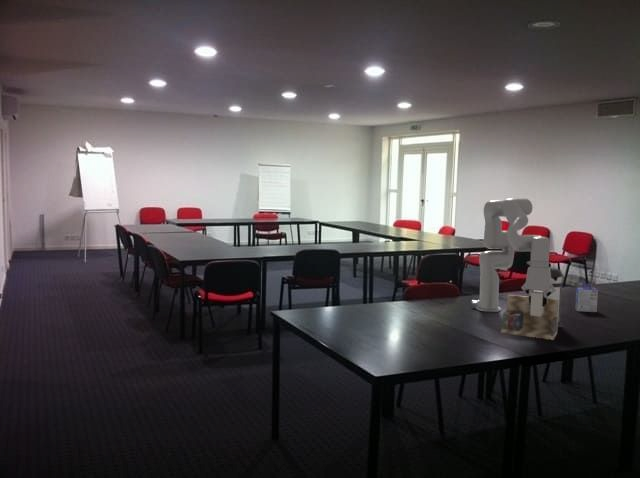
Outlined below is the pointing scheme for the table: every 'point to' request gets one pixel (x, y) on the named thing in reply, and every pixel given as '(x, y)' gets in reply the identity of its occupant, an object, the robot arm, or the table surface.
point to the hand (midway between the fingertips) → (537, 304)
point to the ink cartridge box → (586, 299)
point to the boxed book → (537, 303)
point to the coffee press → (556, 287)
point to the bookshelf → (530, 318)
